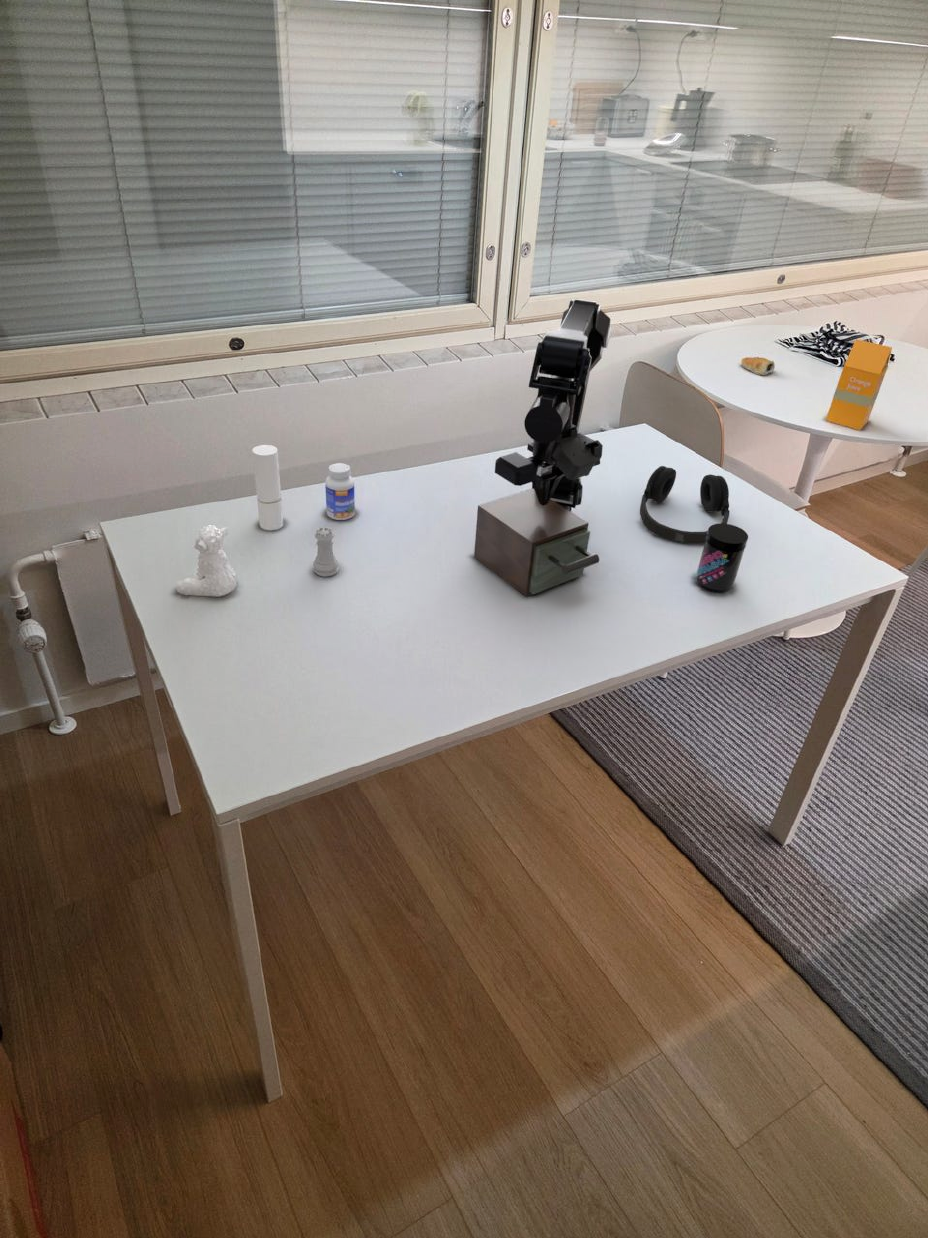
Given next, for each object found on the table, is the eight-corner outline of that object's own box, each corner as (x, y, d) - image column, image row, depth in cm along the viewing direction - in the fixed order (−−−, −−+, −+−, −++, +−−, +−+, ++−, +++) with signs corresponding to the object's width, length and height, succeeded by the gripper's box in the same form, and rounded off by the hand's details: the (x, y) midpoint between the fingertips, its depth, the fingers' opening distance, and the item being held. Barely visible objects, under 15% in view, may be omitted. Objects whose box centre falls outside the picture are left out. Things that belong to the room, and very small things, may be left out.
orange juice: (833, 411, 218) (859, 335, 206) (868, 421, 214) (896, 343, 202) (825, 420, 213) (851, 342, 201) (860, 430, 209) (889, 351, 197)
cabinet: (580, 575, 147) (588, 522, 141) (525, 596, 141) (532, 542, 134) (527, 538, 156) (533, 487, 150) (473, 557, 150) (477, 505, 144)
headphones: (735, 470, 167) (730, 530, 153) (726, 500, 172) (720, 561, 158) (651, 456, 170) (638, 514, 156) (644, 486, 175) (631, 544, 162)
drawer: (602, 588, 142) (611, 544, 137) (553, 609, 137) (559, 564, 131) (533, 540, 154) (538, 498, 149) (484, 557, 148) (488, 514, 143)
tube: (278, 531, 153) (271, 456, 144) (256, 528, 153) (248, 453, 145) (286, 520, 156) (281, 446, 147) (265, 517, 157) (258, 443, 148)
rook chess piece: (343, 567, 145) (342, 527, 140) (332, 580, 141) (330, 539, 136) (320, 561, 146) (318, 521, 141) (308, 574, 142) (305, 533, 137)
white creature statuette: (214, 566, 142) (205, 504, 135) (254, 581, 139) (247, 519, 132) (174, 593, 135) (162, 529, 128) (215, 609, 133) (206, 545, 125)
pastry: (735, 366, 243) (738, 353, 240) (748, 362, 246) (751, 349, 244) (762, 376, 237) (766, 363, 235) (775, 372, 241) (779, 359, 239)
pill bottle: (337, 523, 156) (335, 476, 151) (321, 512, 160) (318, 465, 154) (360, 515, 159) (359, 469, 154) (344, 504, 163) (343, 458, 157)
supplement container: (691, 571, 150) (705, 521, 144) (729, 575, 150) (744, 525, 144) (697, 593, 145) (711, 541, 139) (736, 596, 145) (752, 545, 138)
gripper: (544, 450, 121) (533, 541, 131) (632, 423, 131) (615, 509, 140) (496, 422, 128) (489, 511, 138) (583, 399, 138) (570, 483, 147)
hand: (543, 504), depth 141 cm, fingers closed
